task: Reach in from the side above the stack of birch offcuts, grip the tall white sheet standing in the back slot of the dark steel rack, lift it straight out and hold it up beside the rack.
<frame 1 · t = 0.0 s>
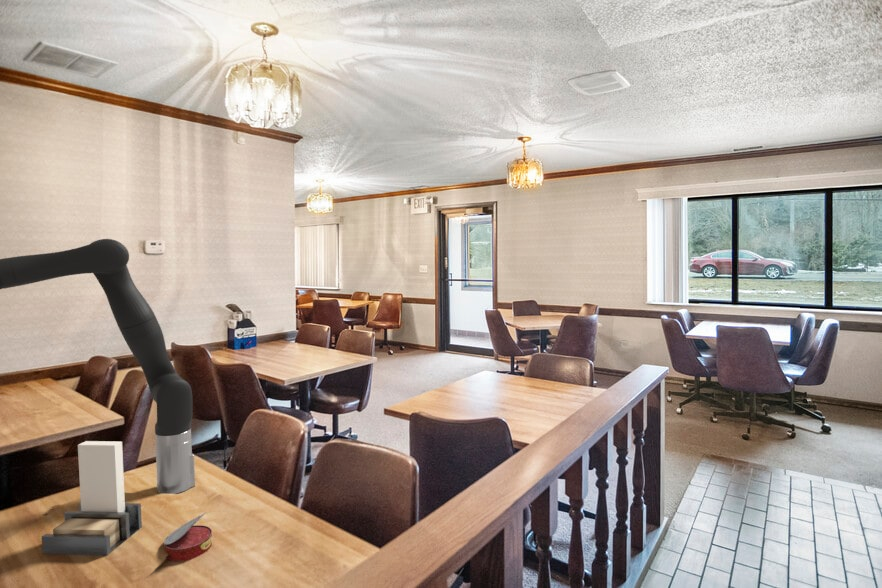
rack: (94, 545, 114), on the table
shard: (68, 516, 129), on the table
offcut top: (86, 534, 112), point 4 cm above the table, touching offcut bottom
canned food: (188, 549, 113), on the table
offcut bottom: (87, 545, 112), point 1 cm above the table, touching offcut top, rack
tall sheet: (104, 532, 117), point 1 cm above the table, touching rack
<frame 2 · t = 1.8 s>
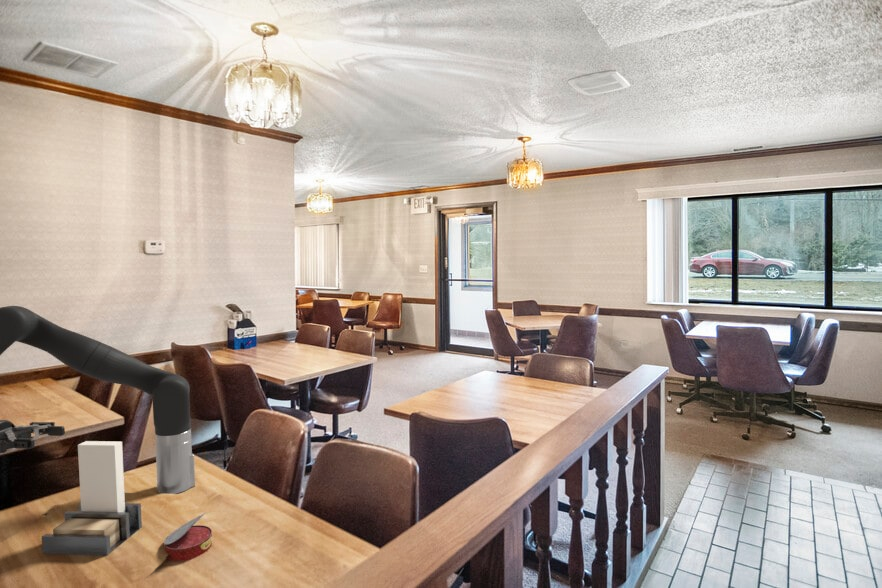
hand: (49, 437, 116), 25 cm above the table, tool horizontal, fingers open, 8 cm apart
nothing on the table moved.
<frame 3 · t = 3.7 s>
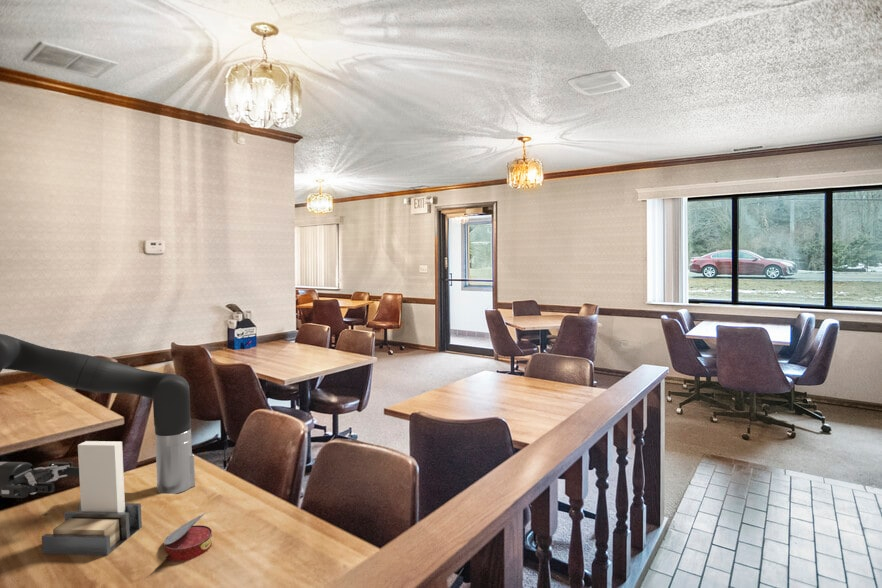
hand: (68, 479, 117), 14 cm above the table, tool horizontal, fingers open, 8 cm apart
nothing on the table moved.
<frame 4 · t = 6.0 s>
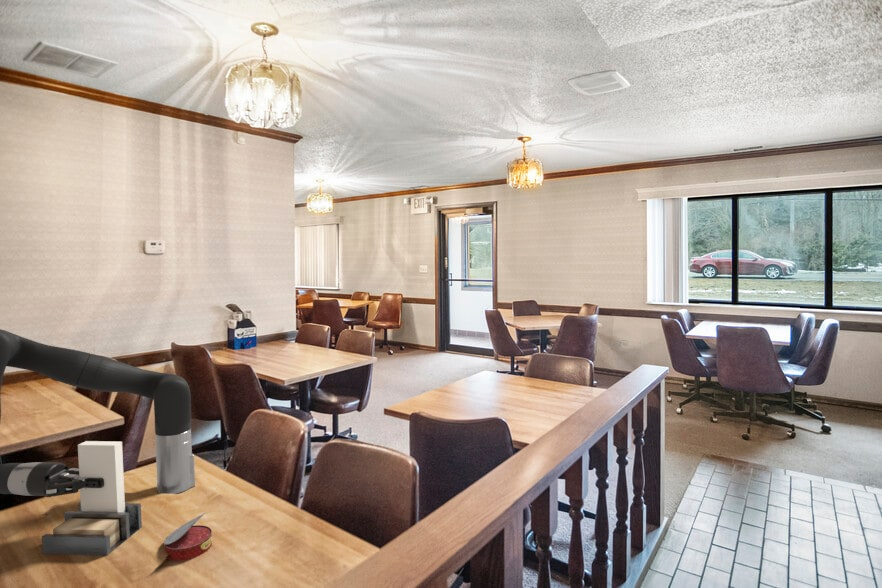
hand: (107, 480, 116), 14 cm above the table, tool horizontal, fingers closed on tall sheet, 2 cm apart
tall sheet: (104, 532, 117), point 2 cm above the table, touching gripper, rack
everything else where it was.
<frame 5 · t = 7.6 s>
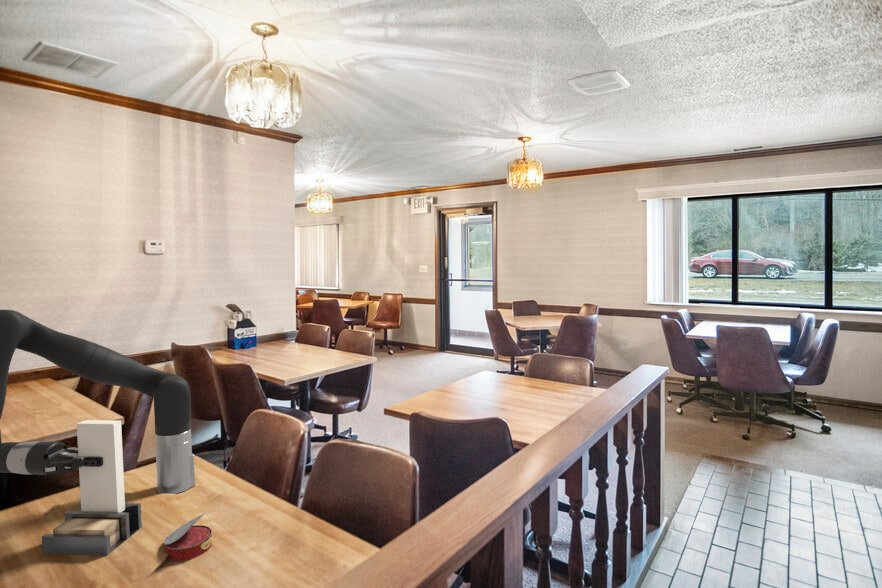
hand: (106, 459, 116), 20 cm above the table, tool horizontal, fingers closed on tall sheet, 2 cm apart
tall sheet: (103, 511, 117), point 7 cm above the table, touching gripper
everything else where it was.
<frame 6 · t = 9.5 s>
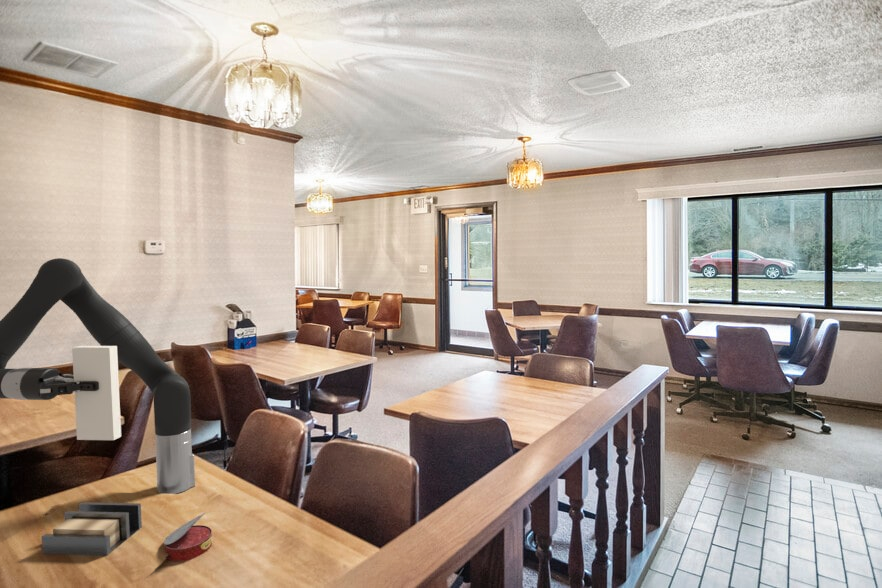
hand: (102, 384, 115), 38 cm above the table, tool horizontal, fingers closed on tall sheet, 2 cm apart
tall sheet: (99, 438, 116), point 25 cm above the table, touching gripper
everything else where it was.
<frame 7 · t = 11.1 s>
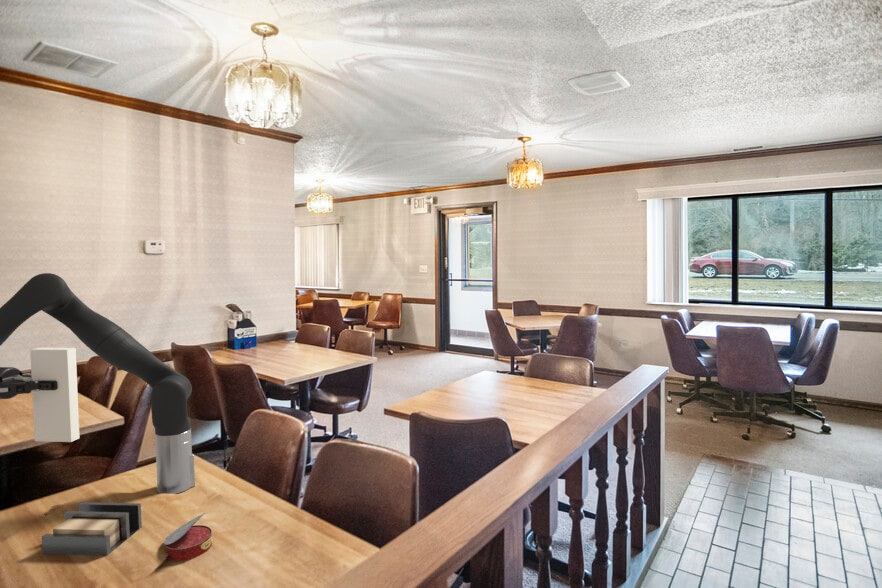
hand: (61, 383, 115), 38 cm above the table, tool horizontal, fingers closed on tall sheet, 2 cm apart
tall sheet: (57, 439, 116), point 24 cm above the table, touching gripper
everything else where it was.
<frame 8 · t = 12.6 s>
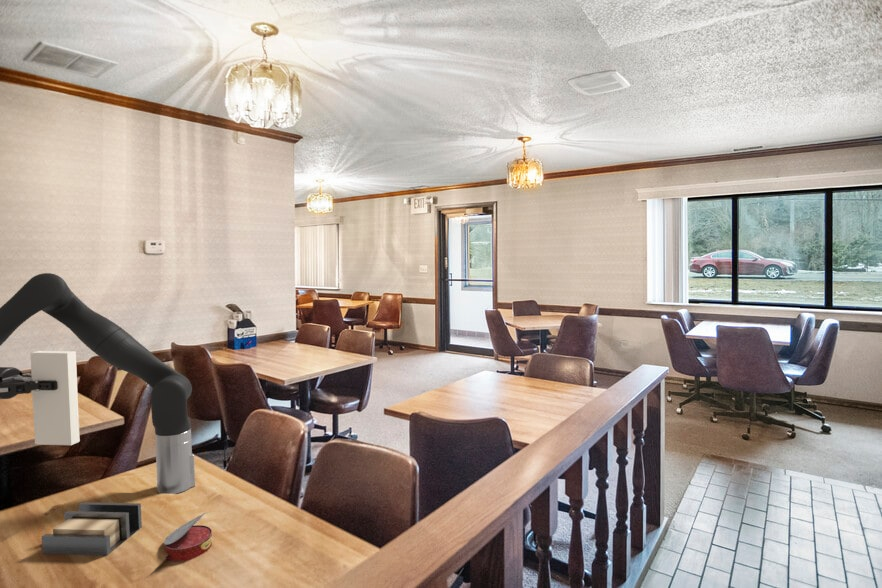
hand: (61, 383, 115), 38 cm above the table, tool horizontal, fingers closed on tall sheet, 2 cm apart
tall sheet: (57, 442, 116), point 23 cm above the table, touching gripper
everything else where it was.
at the end: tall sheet point 23.4 cm above the table; the gripper is holding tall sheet; offcut top moved 0.0 cm from its start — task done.
